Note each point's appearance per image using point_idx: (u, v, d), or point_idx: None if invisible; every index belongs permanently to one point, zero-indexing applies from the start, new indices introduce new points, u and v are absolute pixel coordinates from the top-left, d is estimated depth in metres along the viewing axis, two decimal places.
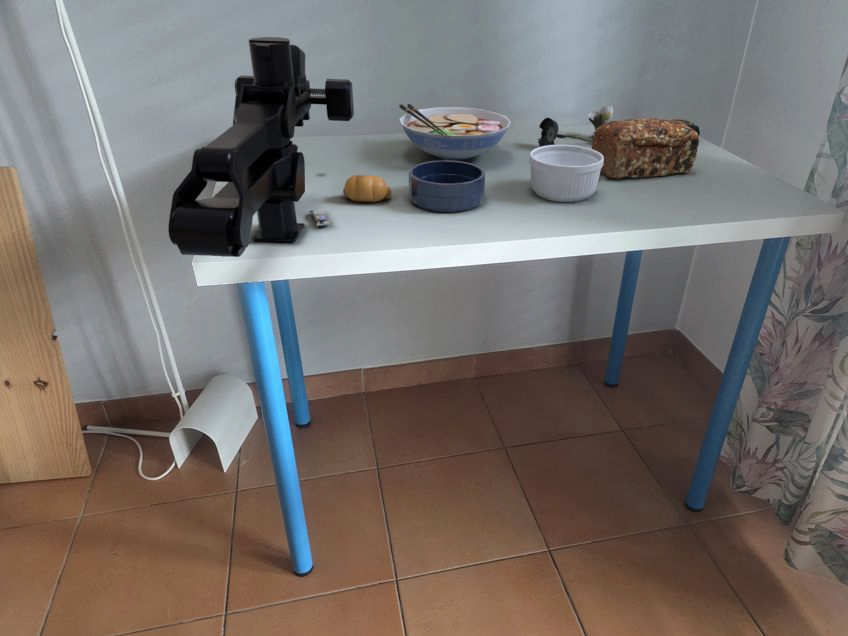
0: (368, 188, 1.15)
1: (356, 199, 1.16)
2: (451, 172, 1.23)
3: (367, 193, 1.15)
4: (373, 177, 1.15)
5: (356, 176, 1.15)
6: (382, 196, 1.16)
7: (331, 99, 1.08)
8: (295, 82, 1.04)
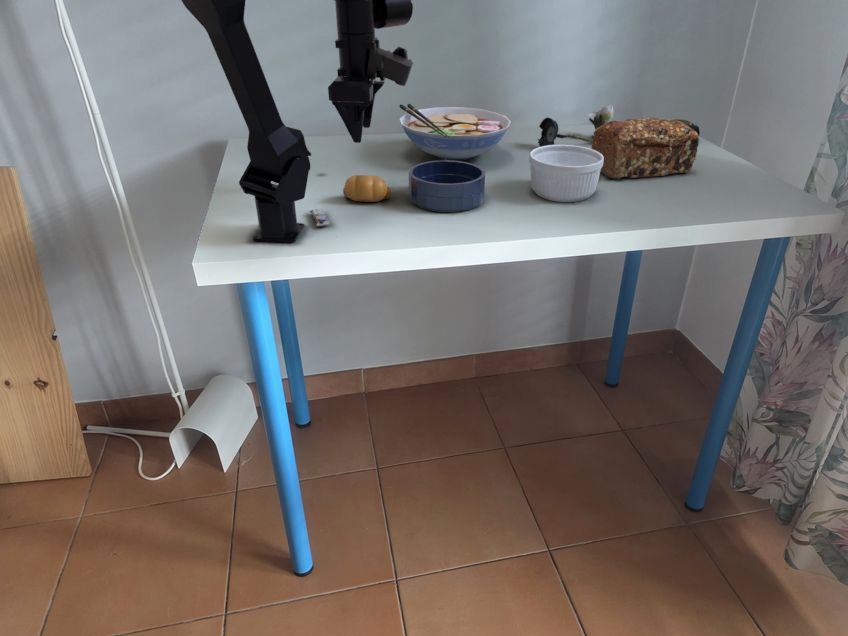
0: (368, 188, 1.15)
1: (356, 199, 1.16)
2: (451, 172, 1.23)
3: (367, 193, 1.15)
4: (373, 177, 1.15)
5: (356, 176, 1.15)
6: (382, 196, 1.16)
7: (354, 78, 1.01)
8: (377, 52, 1.03)
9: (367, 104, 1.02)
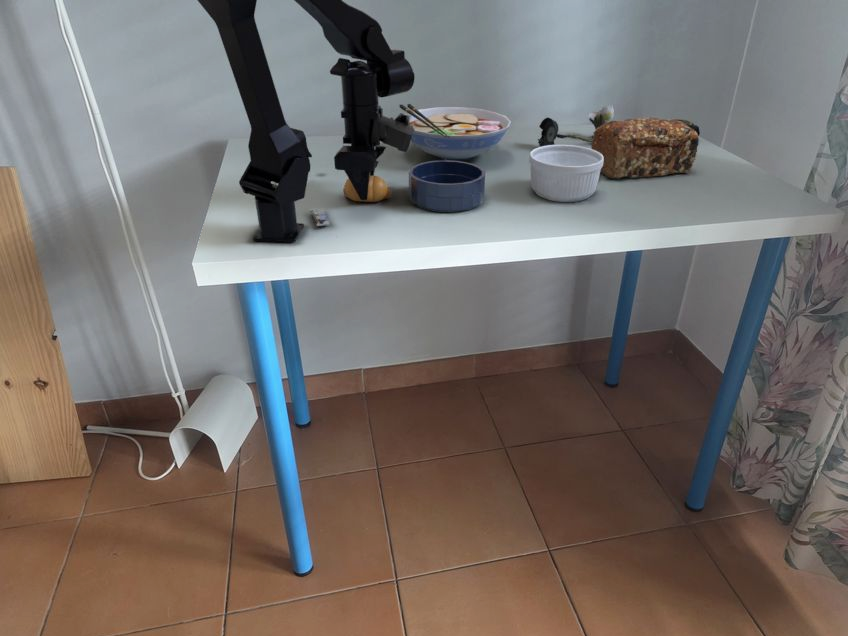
0: None
1: (356, 199, 1.16)
2: (451, 172, 1.23)
3: None
4: (373, 177, 1.15)
5: None
6: (382, 196, 1.16)
7: (358, 147, 1.07)
8: (381, 121, 1.09)
9: None
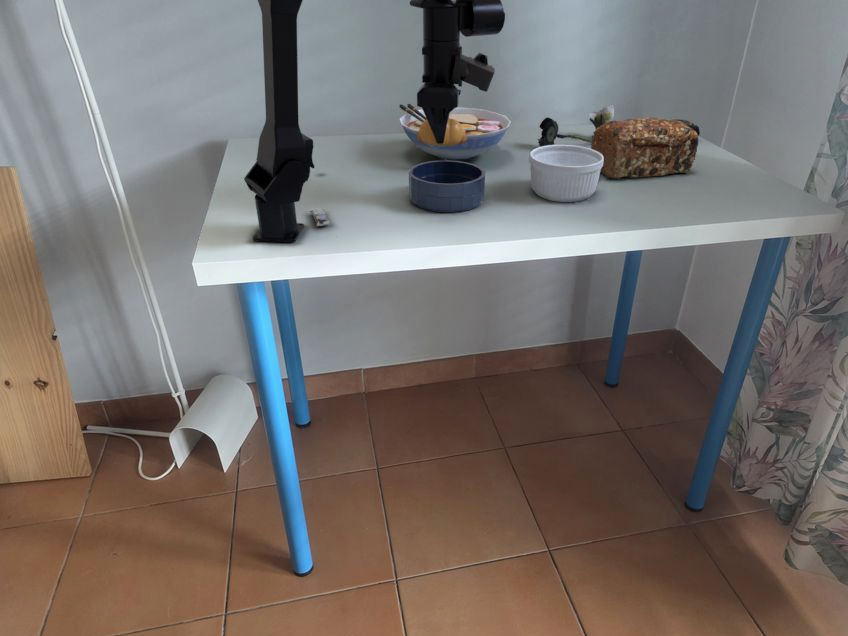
0: None
1: (432, 143, 1.13)
2: (451, 172, 1.23)
3: None
4: (450, 120, 1.12)
5: None
6: (458, 140, 1.12)
7: (441, 84, 1.03)
8: (462, 59, 1.05)
9: None
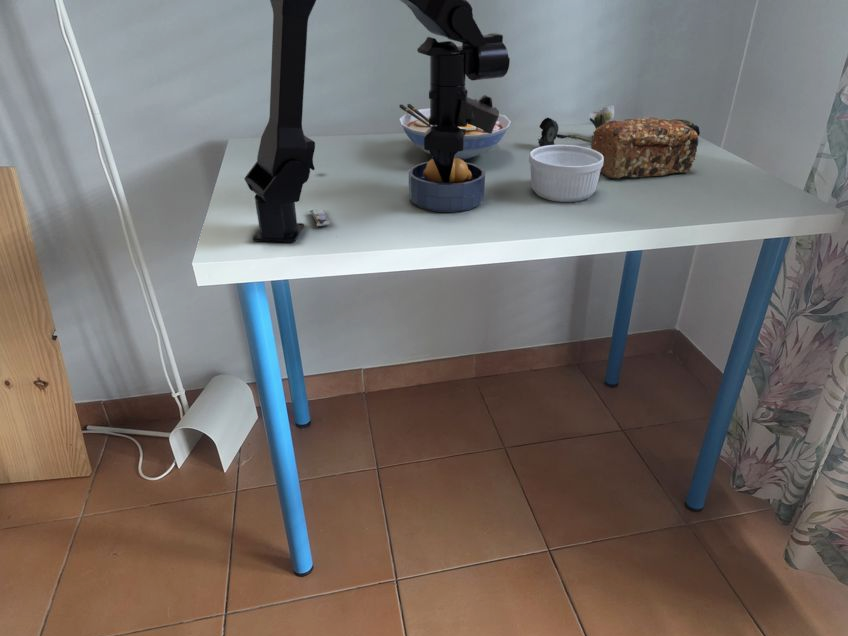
0: (451, 170, 1.15)
1: (437, 181, 1.16)
2: None
3: None
4: (455, 159, 1.15)
5: None
6: (464, 178, 1.16)
7: (447, 128, 1.06)
8: (468, 102, 1.09)
9: None
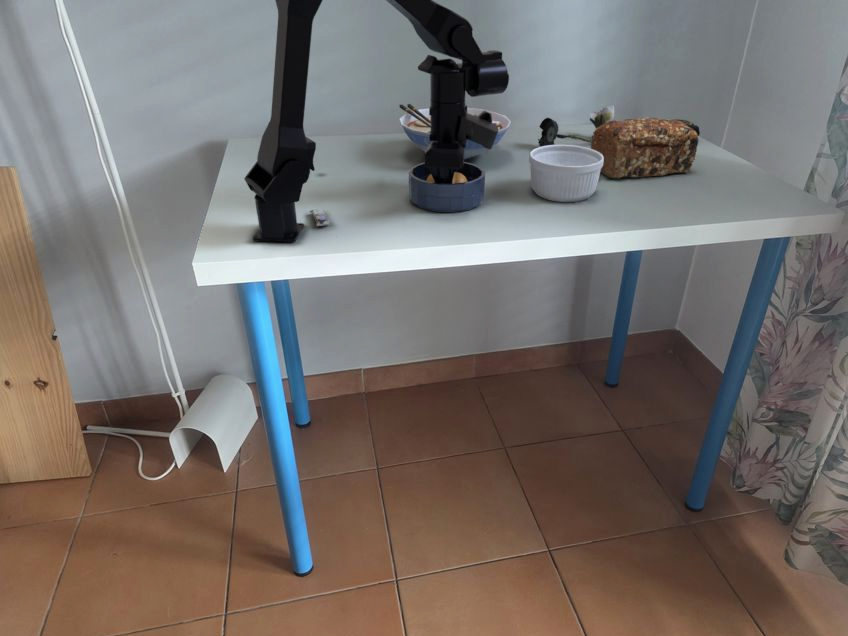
0: None
1: None
2: None
3: None
4: (455, 173, 1.17)
5: None
6: None
7: (447, 144, 1.08)
8: (467, 119, 1.10)
9: (460, 167, 1.09)
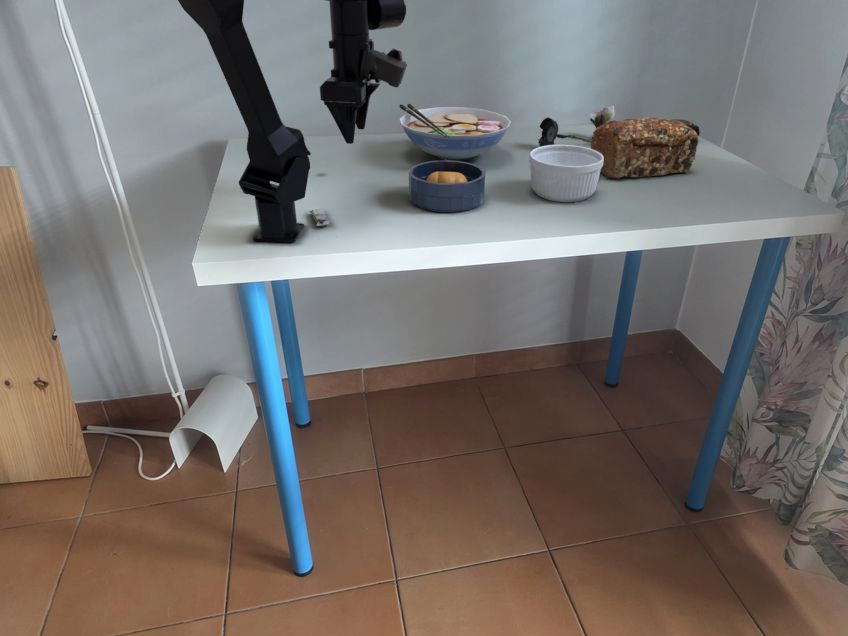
0: None
1: None
2: None
3: None
4: (455, 173, 1.17)
5: (438, 172, 1.17)
6: None
7: (346, 78, 1.01)
8: (371, 53, 1.03)
9: (359, 105, 1.01)
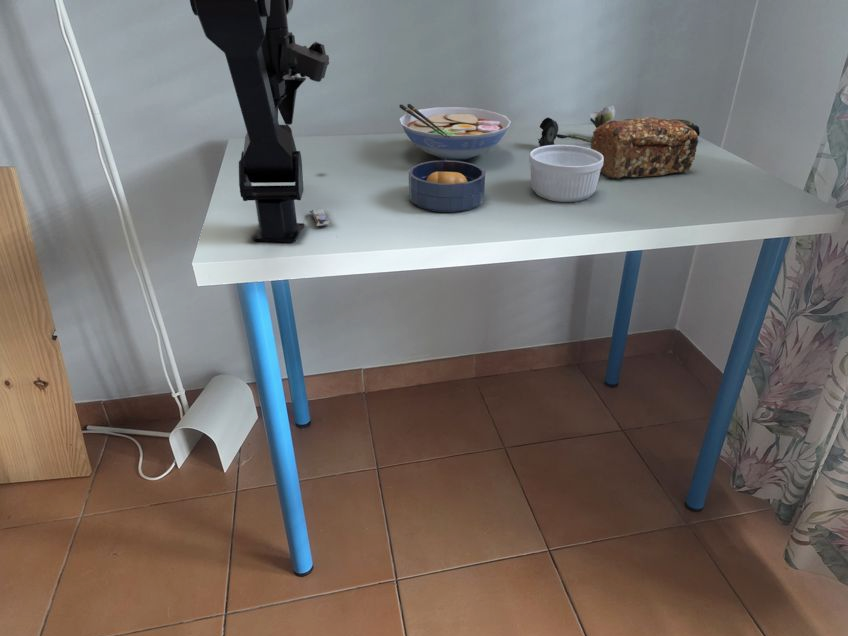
0: None
1: None
2: None
3: None
4: (455, 173, 1.17)
5: (438, 172, 1.17)
6: None
7: None
8: (290, 47, 1.02)
9: (278, 100, 1.00)
